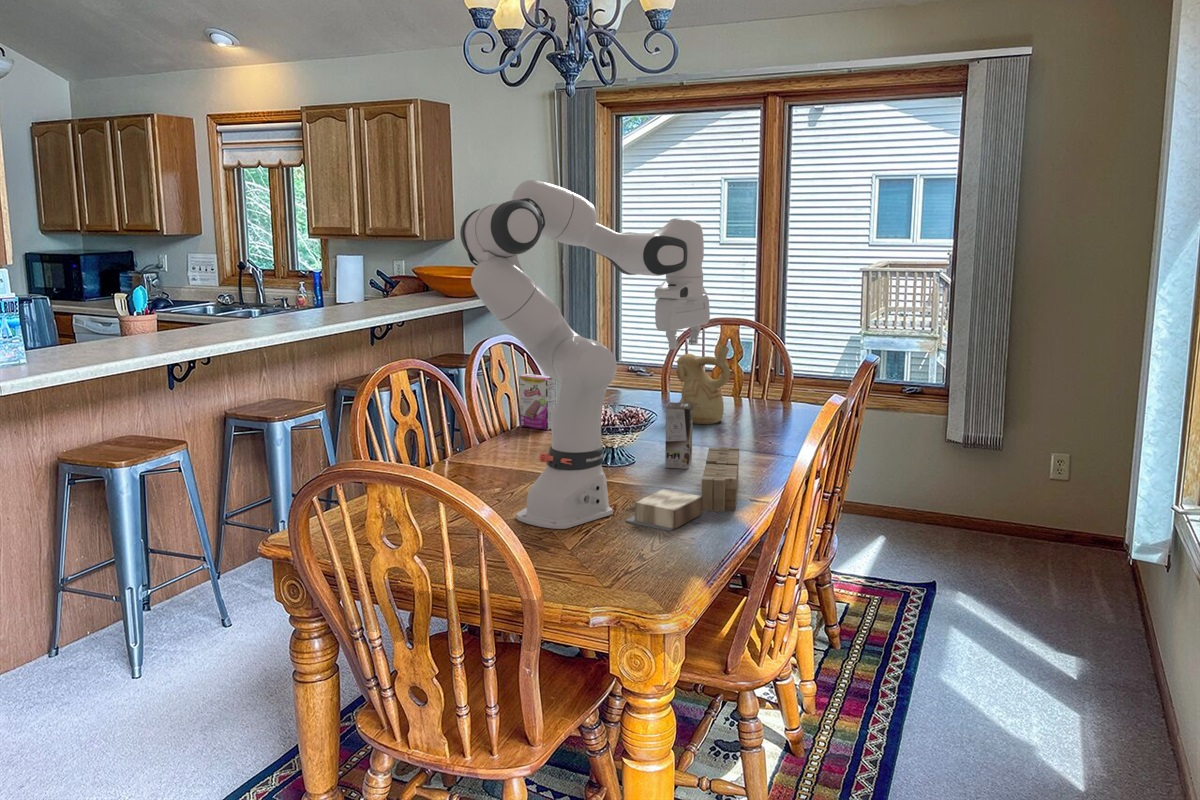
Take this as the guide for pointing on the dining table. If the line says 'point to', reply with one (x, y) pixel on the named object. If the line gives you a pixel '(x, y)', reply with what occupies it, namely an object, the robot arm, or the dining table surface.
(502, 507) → the dining table surface
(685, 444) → the coffee box
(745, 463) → the dining table surface
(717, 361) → the ceramic vessel
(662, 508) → the maple block
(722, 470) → the block tower
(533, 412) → the candy bar box
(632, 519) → the mat
